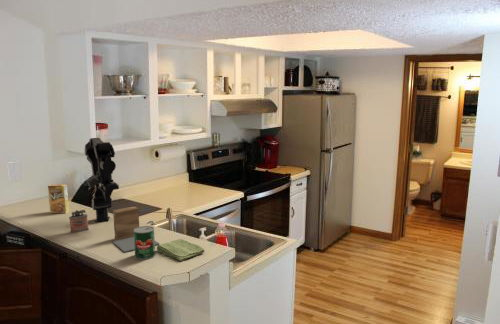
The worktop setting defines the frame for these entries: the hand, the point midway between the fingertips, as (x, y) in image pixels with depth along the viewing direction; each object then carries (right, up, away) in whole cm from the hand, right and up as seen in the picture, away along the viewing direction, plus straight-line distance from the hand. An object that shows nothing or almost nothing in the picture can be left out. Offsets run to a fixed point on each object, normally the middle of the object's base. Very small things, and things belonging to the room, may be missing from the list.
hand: (107, 201), depth 204 cm
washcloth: (+40, -18, -30) cm, 53 cm away
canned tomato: (+26, -19, -33) cm, 46 cm away
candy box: (-36, -9, +30) cm, 47 cm away
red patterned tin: (-12, -14, -2) cm, 19 cm away
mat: (+19, -16, -20) cm, 32 cm away
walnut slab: (+13, -15, -12) cm, 23 cm away
